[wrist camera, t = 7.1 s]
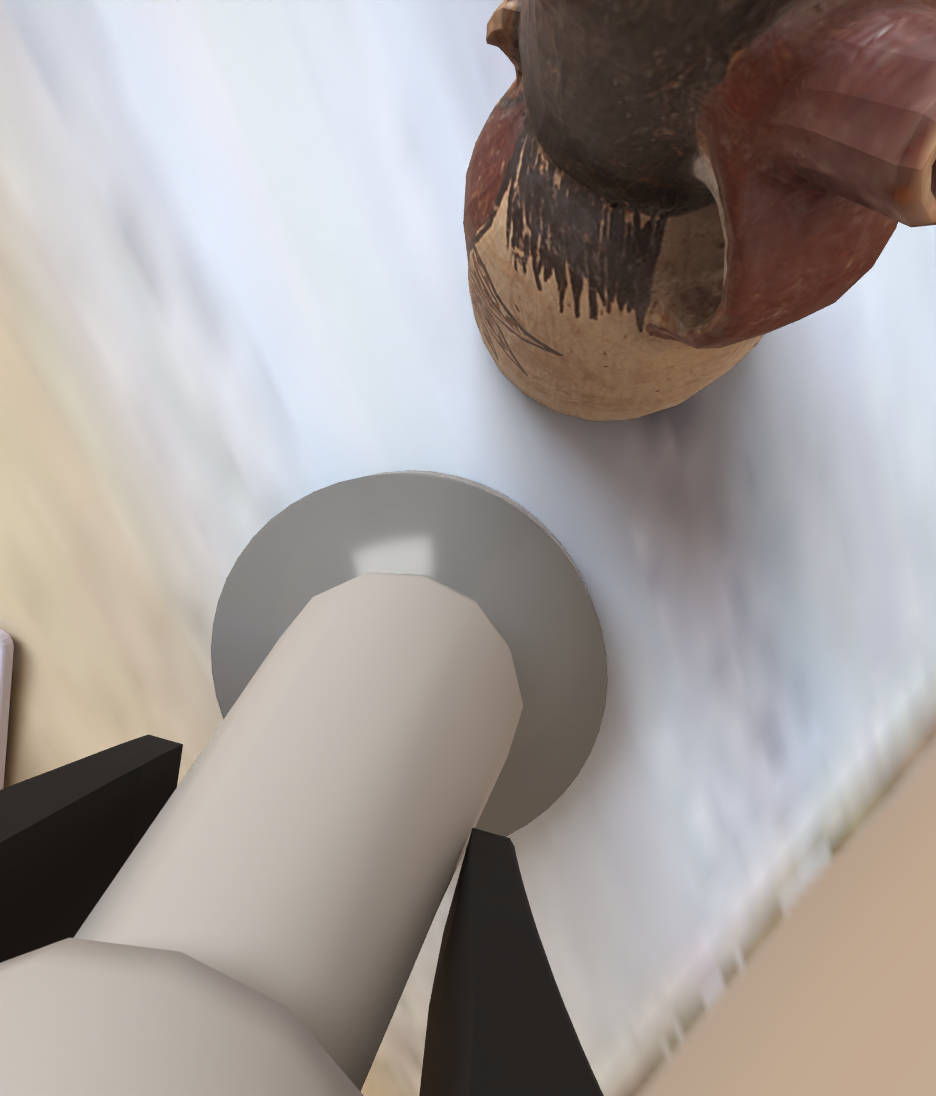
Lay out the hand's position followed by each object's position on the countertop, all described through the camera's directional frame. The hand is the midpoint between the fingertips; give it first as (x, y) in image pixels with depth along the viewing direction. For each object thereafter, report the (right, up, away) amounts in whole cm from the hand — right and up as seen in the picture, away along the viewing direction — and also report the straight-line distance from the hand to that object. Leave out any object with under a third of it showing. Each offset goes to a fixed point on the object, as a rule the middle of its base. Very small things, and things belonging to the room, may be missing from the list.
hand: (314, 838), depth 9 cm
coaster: (+1, +2, +8) cm, 8 cm away
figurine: (+6, +12, +6) cm, 15 cm away
